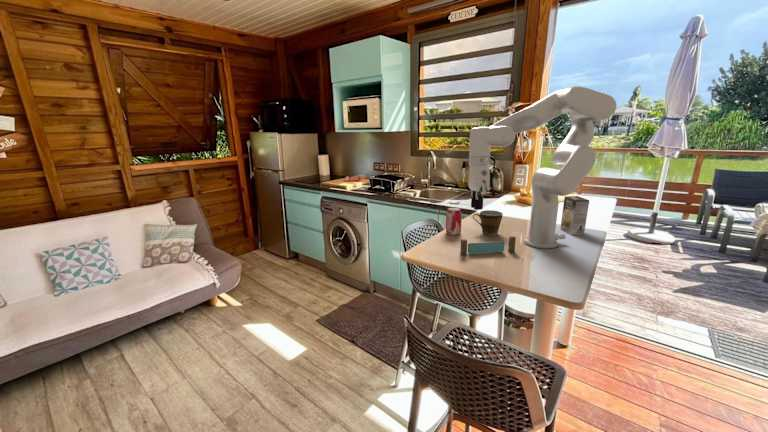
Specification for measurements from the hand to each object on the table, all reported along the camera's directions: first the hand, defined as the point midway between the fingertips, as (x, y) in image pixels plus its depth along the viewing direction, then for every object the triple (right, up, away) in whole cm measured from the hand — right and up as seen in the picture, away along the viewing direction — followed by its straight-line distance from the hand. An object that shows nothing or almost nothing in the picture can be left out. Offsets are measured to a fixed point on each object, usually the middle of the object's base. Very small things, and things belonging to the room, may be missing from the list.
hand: (476, 208), depth 119 cm
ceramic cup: (+12, -11, +23) cm, 28 cm away
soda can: (-4, -12, +24) cm, 27 cm away
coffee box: (+51, -11, +22) cm, 56 cm away
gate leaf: (+3, -17, 0) cm, 18 cm away
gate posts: (+4, -18, 0) cm, 18 cm away
